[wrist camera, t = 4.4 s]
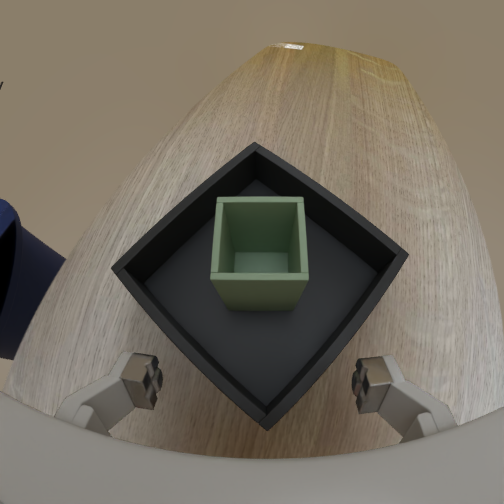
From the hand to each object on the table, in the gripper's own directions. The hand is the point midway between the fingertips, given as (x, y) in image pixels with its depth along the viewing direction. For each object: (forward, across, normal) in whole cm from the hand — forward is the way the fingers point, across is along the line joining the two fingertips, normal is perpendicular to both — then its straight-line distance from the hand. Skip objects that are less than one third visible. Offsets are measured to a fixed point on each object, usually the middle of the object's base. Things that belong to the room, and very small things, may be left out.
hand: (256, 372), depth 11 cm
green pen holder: (+12, 0, +2) cm, 12 cm away
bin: (+13, 0, +3) cm, 13 cm away
